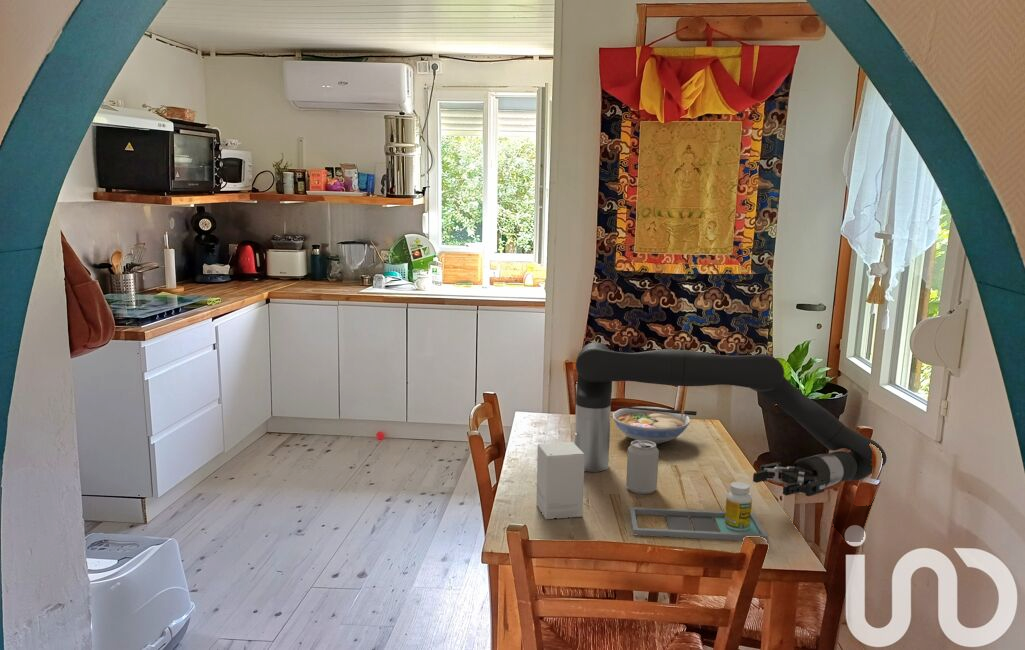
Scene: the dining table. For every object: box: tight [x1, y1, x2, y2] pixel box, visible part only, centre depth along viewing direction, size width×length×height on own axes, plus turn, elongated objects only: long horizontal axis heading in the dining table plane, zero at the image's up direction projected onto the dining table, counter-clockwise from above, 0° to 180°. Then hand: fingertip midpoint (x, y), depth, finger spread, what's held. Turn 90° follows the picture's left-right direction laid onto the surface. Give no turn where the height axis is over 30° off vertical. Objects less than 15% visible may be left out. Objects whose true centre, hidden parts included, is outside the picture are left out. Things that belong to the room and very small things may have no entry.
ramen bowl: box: [612, 405, 697, 445], centre depth 223 cm, size 25×23×8 cm
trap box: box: [628, 506, 769, 541], centre depth 166 cm, size 28×12×1 cm, turn 86°
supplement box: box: [536, 441, 585, 520], centre depth 172 cm, size 9×9×15 cm
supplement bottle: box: [725, 481, 753, 531], centre depth 164 cm, size 5×5×10 cm
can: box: [625, 439, 660, 495], centre depth 185 cm, size 8×8×12 cm
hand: (769, 484), depth 168 cm, fingers open, 8 cm apart
